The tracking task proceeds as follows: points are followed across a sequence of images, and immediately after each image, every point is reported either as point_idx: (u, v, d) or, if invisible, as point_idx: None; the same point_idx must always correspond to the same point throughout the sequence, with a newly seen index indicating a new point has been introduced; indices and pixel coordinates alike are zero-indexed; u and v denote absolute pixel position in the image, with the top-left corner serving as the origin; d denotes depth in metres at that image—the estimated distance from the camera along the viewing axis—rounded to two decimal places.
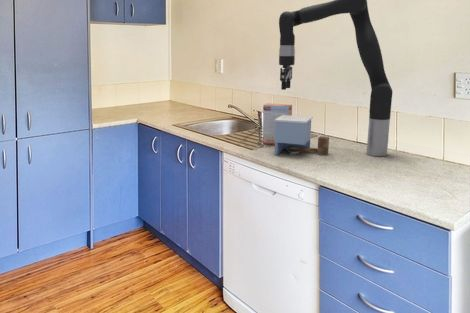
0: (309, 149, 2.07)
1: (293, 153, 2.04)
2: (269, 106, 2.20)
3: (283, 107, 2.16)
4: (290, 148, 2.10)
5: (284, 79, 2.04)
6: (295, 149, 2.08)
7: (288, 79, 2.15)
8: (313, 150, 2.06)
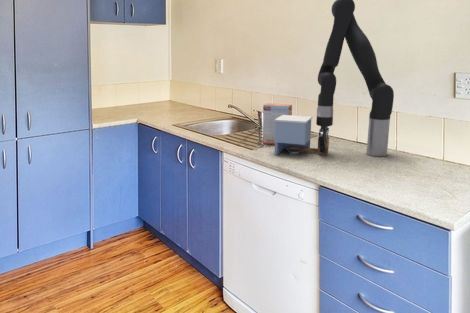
0: (309, 149, 2.07)
1: (293, 153, 2.04)
2: (269, 106, 2.20)
3: (283, 107, 2.16)
4: (290, 148, 2.10)
5: (323, 143, 1.99)
6: (295, 149, 2.08)
7: None
8: (313, 150, 2.06)
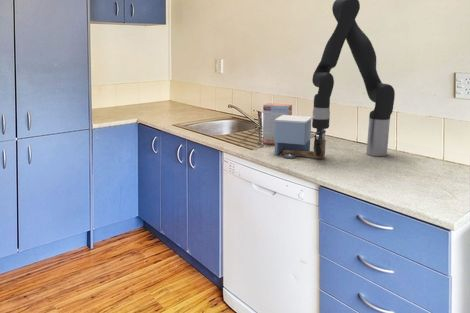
0: (305, 152, 1.98)
1: (289, 157, 1.96)
2: (269, 106, 2.20)
3: (283, 107, 2.16)
4: (285, 151, 2.02)
5: (319, 146, 1.90)
6: None
7: None
8: (309, 153, 1.98)
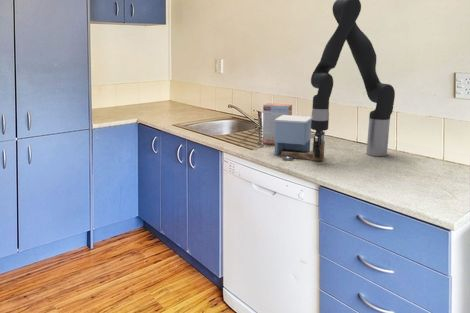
0: (303, 154, 1.95)
1: (286, 159, 1.93)
2: (269, 106, 2.20)
3: (283, 107, 2.16)
4: (283, 153, 1.98)
5: (318, 148, 1.87)
6: (289, 155, 1.97)
7: None
8: (308, 155, 1.94)
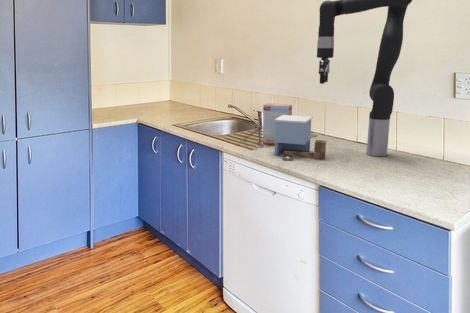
0: (305, 153, 1.99)
1: (286, 159, 1.93)
2: (269, 106, 2.20)
3: (283, 107, 2.16)
4: (286, 152, 2.02)
5: (323, 72, 1.94)
6: (289, 155, 1.97)
7: (325, 73, 2.04)
8: (309, 154, 1.98)
